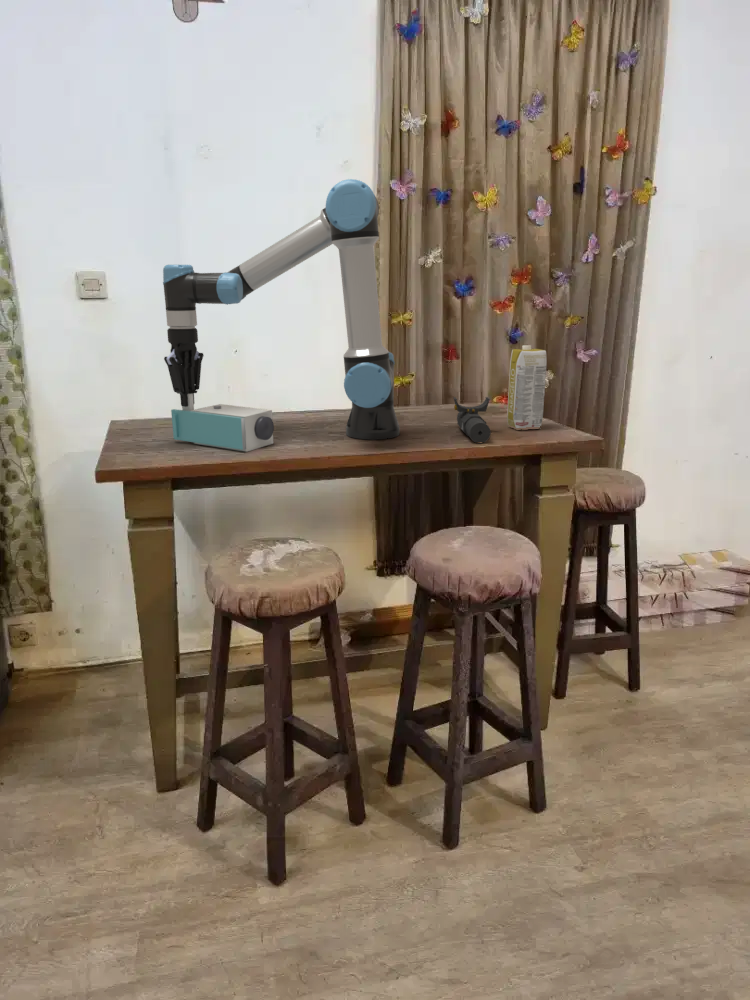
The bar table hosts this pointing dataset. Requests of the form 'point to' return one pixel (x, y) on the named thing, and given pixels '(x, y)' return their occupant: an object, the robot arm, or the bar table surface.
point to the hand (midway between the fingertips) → (188, 417)
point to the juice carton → (526, 387)
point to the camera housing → (247, 424)
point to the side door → (209, 429)
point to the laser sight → (473, 421)
